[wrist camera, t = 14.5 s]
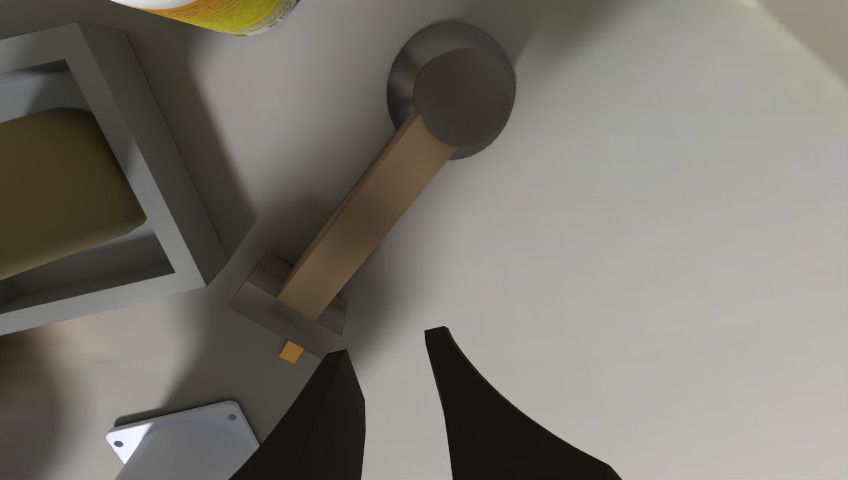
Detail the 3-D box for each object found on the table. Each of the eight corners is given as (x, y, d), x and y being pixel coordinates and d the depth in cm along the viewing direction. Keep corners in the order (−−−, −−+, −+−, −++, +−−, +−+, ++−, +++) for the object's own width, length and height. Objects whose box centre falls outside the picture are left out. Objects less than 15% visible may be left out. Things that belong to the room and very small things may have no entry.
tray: (229, 261, 21) (206, 286, 18) (25, 309, 21) (-26, 341, 18) (124, 30, 17) (76, 21, 14) (-131, 90, 17) (-224, 93, 14)
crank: (435, 22, 17) (446, 10, 14) (516, 99, 19) (542, 104, 16) (250, 272, 21) (226, 307, 18) (331, 321, 22) (322, 360, 19)
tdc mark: (302, 316, 23) (302, 318, 22) (319, 324, 23) (318, 325, 23) (279, 354, 23) (278, 357, 23) (295, 361, 24) (294, 363, 24)
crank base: (520, 143, 20) (521, 144, 20) (403, 171, 20) (403, 172, 20) (504, 9, 18) (505, 8, 18) (371, 40, 18) (371, 40, 18)
